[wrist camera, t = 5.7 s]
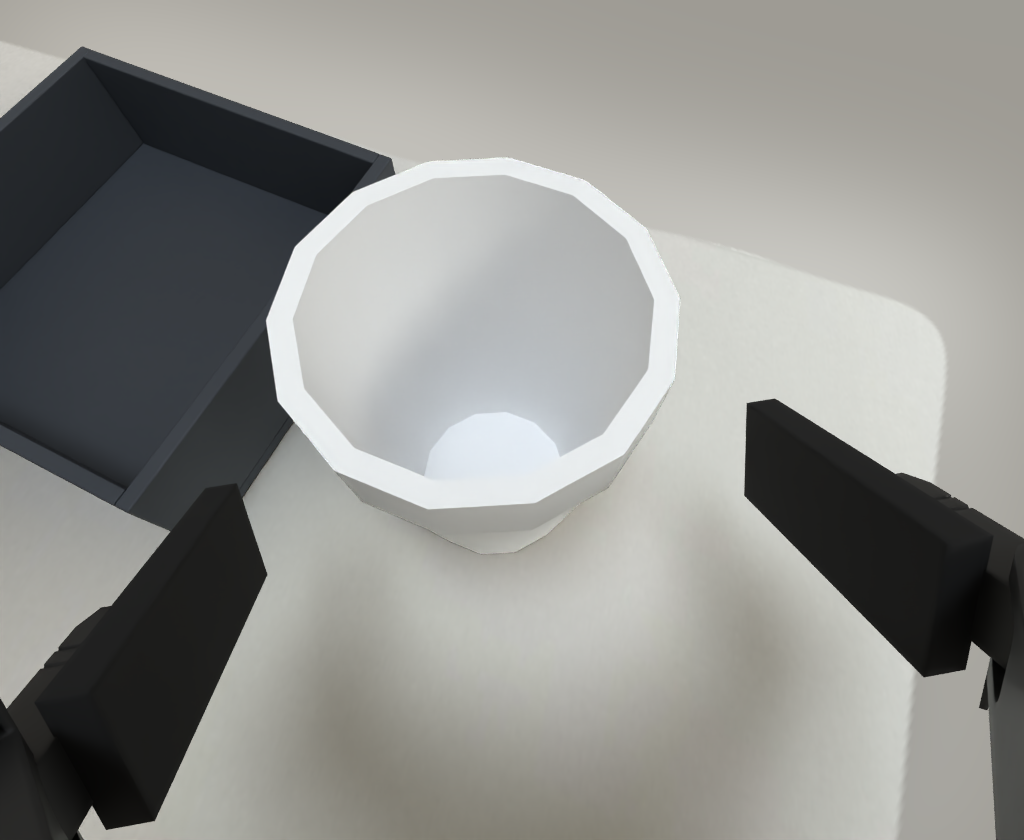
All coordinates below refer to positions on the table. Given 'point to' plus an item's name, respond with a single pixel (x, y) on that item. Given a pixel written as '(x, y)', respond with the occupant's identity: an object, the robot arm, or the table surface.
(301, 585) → the table surface
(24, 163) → the tray
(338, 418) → the foam cup
